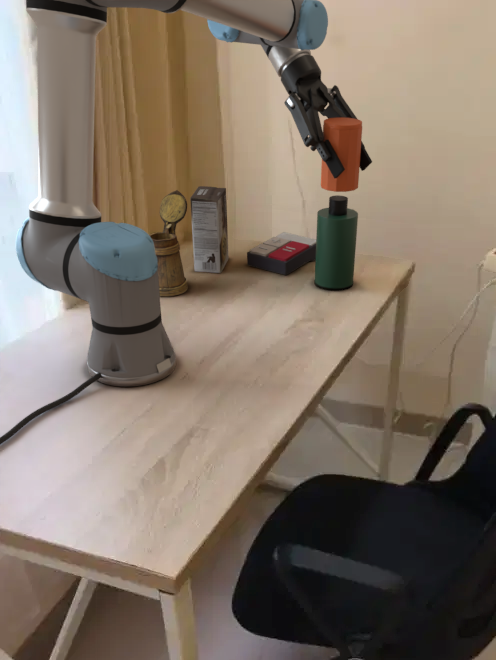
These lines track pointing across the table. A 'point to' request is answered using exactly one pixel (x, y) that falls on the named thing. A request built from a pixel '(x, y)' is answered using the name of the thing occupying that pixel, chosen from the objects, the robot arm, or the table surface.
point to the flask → (335, 245)
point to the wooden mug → (170, 246)
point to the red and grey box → (282, 253)
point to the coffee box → (209, 229)
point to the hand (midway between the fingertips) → (353, 170)
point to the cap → (343, 153)
